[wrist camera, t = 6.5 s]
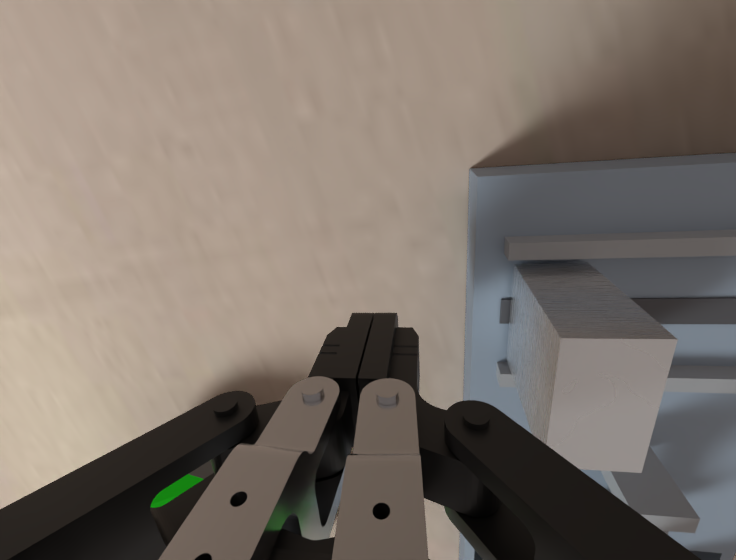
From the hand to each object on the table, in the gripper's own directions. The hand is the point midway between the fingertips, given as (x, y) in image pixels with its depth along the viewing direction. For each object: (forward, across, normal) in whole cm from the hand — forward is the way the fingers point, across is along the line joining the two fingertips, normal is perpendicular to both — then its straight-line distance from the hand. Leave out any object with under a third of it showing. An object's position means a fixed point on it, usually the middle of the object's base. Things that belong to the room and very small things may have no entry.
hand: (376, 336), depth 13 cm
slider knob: (+2, -6, 0) cm, 6 cm away
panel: (+5, -9, +8) cm, 13 cm away
